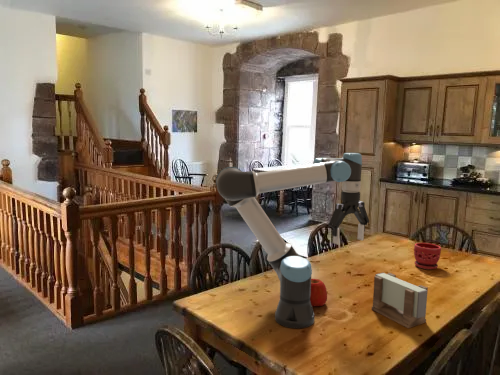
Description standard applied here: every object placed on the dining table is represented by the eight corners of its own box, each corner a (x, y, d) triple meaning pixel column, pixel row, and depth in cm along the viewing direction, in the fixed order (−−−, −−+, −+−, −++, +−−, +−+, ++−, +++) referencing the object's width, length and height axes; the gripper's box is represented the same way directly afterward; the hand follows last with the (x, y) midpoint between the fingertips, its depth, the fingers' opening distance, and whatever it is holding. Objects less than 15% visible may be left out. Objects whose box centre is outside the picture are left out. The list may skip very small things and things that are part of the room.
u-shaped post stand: (408, 328, 151) (410, 292, 149) (371, 309, 166) (373, 276, 164) (425, 322, 156) (428, 287, 154) (388, 304, 171) (390, 272, 169)
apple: (295, 303, 172) (296, 278, 170) (311, 295, 179) (312, 272, 178) (316, 311, 164) (317, 286, 163) (332, 303, 172) (333, 279, 170)
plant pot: (442, 271, 212) (444, 249, 210) (416, 270, 214) (417, 248, 212) (435, 263, 225) (437, 242, 223) (410, 262, 227) (412, 241, 225)
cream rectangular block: (417, 318, 150) (419, 292, 149) (374, 297, 168) (375, 274, 167) (425, 315, 153) (427, 290, 151) (381, 295, 171) (383, 272, 169)
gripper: (333, 194, 156) (331, 248, 159) (379, 190, 169) (376, 240, 172) (320, 191, 163) (319, 243, 166) (366, 187, 175) (363, 235, 178)
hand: (348, 241), depth 169 cm, fingers open, 13 cm apart
